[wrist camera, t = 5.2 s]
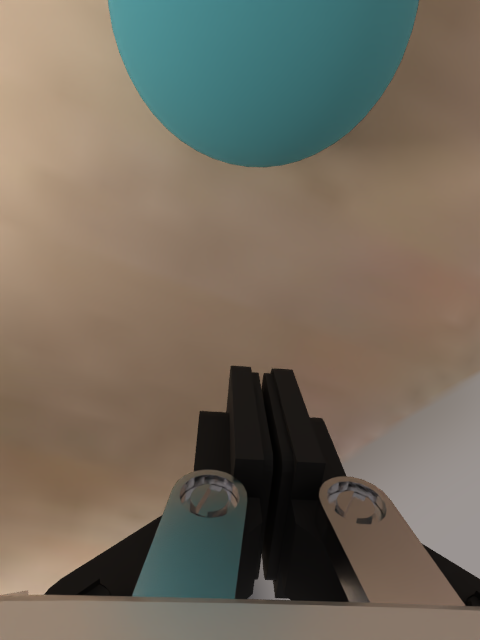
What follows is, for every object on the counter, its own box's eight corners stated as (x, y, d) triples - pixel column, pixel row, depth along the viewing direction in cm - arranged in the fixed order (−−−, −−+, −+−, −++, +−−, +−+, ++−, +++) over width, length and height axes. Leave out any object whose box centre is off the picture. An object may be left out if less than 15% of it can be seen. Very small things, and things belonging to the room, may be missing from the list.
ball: (338, 178, 13) (443, 180, 7) (134, 158, 12) (67, 143, 6) (376, -69, 11) (564, -344, 5) (136, -107, 10) (45, -465, 4)
